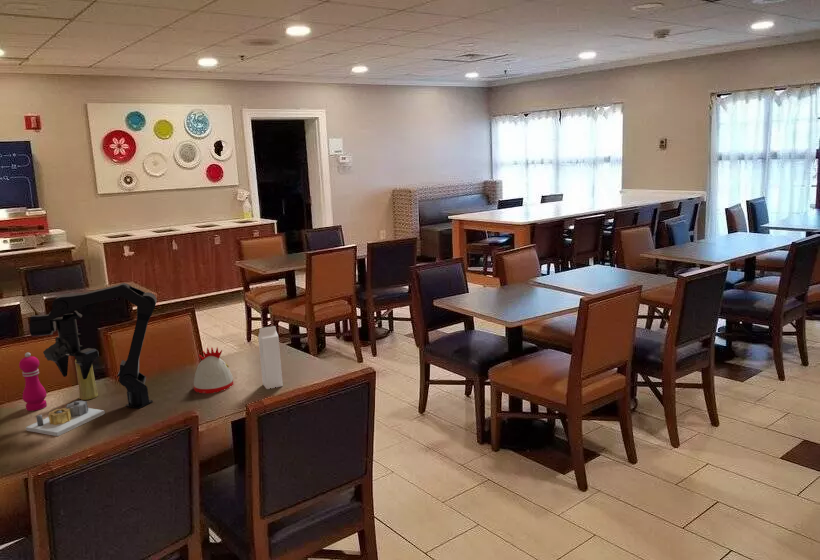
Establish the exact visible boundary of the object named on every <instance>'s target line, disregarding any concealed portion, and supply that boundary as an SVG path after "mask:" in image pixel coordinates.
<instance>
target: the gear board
mask: <svg viewBox="0 0 820 560" xmlns="http://www.w3.org/2000/svg"><path fill="white" fill-rule="evenodd" d="M87 401H88V400H74V401H73V402H71V403H68V404H66V406H65V408H66V409H70V413H71V420H70V421H67V422H65V423H64V424H57V425H54V424H50V422H49V416H47V417H46V418H43V415H42V414H37V415H36V422H34V423H32V424H29V425H28V426H26V427H25V430H26V431H28V432H32V433H39V434H45V435H49V436H54V437H59V436H61V435H63V434H65V433H67V432H69V431H72V430H74V429H76V428H78V427H80V426H82V425H84V424H86V423H89V422H91V421H92V420H94V419H97V418H99V417H102V416H103V415H105V414H106V412H105V410H104V409H99V408H98V409H97V408H91V407H88V402H87ZM58 413H62V411H57V412H56V414H58Z"/></svg>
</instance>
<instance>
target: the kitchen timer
mask: <svg viewBox="0 0 820 560" xmlns="http://www.w3.org/2000/svg"><path fill="white" fill-rule="evenodd" d="M210 349H211V351H210ZM210 349H209V347H207V348H206V352H205V351H204V350H202V354H203V356H202V354H199V355H198V356H199V358H200V359H201V361H200V362H199V363H198V365H197V367H196V370H195V374H194V377H193V390H194V392H196V393H198V392H199V393H198V394H214V392H216V393H220V392H219V391H221V390H224V389H227V388H229V387H230V386H232V385H233V386H234V377H233V374H232V372H231V370H230V368H229V367H230V366H229V365H228V364H227V363H226V362H225V361H224V360H223V359H221V355H222V352H223V349H221V350H220V351H219V347H218V346H216V349H215V351H214V348H213V347H211V348H210ZM233 386H232V387H233ZM229 389H230V388H229ZM227 390H228V389H227ZM224 391H225V390H224ZM221 392H222V391H221Z"/></svg>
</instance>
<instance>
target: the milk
mask: <svg viewBox="0 0 820 560" xmlns="http://www.w3.org/2000/svg"><path fill="white" fill-rule="evenodd" d="M258 331H259V332H258V335H257V337H258V348H259V359H260V368H261V369H260V370H261V377H262V378H261V379H262V380H261V381H262V385H263V386H264V388H265V389H266V390H271V389H275V387H276V388H279V387H283V386H284V384H283V373H282V361H281V350H280V338H279V334H278V332H277V327H276V325H273V326H265V327H261V328H259V329H258ZM270 388H271V389H270Z"/></svg>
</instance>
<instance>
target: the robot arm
mask: <svg viewBox="0 0 820 560" xmlns="http://www.w3.org/2000/svg"><path fill="white" fill-rule="evenodd" d="M121 297H122V298H123V299H125V300H127V301H128V302H129V303H131V304H133V305H134V306H136V323H135V327H134V330H133V335H132V339H131V343H130V347H129V351H128V355H127V359H126V360H124V359H122V360H121V362H120V364H119V370H118V374H117V375H116V376H117V378H118V383H119V384H120V385H121V386H123V387H125V389H126V397H127V403H126V404H125V407H128V408H134V409H141V408H143V407H145V406H147V405H149V404H151V403H153V401H154V400H152V399H150V397H149V389H148V386H147V385H146V379H147V376H145V374H143V373H141V372H140V357H141V352H142V349H143V343H144V340H145V336H146V332H147V328H148V323H149V321H150V319H151V317H152V314H153V312H154V310H155V307H156V305H157V302H158V299H157V296H156V295H155V293H152V292H146V291H143V290H141V289H140V288H136V287H133V286H131V285H130V284H128V283H127V282H126V283H125V282H122V283H119V284H116V285H111V286H107V287H103V288H100V289H95V290H91V291H90V290H89V291H87V292H79V293H78V292H70V293H62V294H59V295H58V296H57V297H56V298H55V299H54V300H53V302H52V304H51V307H52V310H50V312H49V313H48V314H39V315H37V314H36V315H35V314H34V315H31V316H30V318H29V319H30V322H29V332H30V335H31V337H32V338H34V337H41V336H42V337H43V336H50V335H53V334H54V332H56V331H57V334H58V335H57V337H55V343H53V344H51V345H50V346H48V347H47V348H45V350H43V353H42V354H43V355H44V358H45V359H46V360H47V361H52V362H53V363H54V364H55V365H56V367H57V368H58V370H59V372H60V373H61V375H62V377H63V378H65V377H67V376H68V371H69V357H74V359H75V360H77V362H76V363H77V364H78V365H80V369H81V373H82V377H83V379H87V376H88V374H89V371H90V368H91V366H93V364H94V361H95V360H97V358H98V357H100V355H99V350H98V349H96V348H91V347H88V348H84V345H81V344H80V338H82V337H83V335H82V333H79V331H78V324H77V320H80V319H81V318H82V317H83V314H81V313H79V312H78V309H80V308H83V307H84V306H87V305H92V304H97V303H100V302H105V301H108V300H109V301H110V300H112V299H117V298H121ZM73 311H74V312H73ZM71 312H73V313H71ZM61 315H62V316H61Z"/></svg>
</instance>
